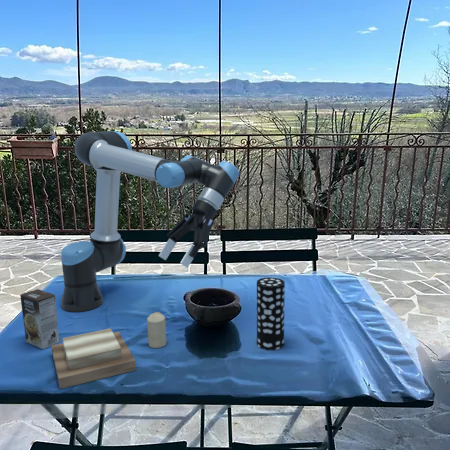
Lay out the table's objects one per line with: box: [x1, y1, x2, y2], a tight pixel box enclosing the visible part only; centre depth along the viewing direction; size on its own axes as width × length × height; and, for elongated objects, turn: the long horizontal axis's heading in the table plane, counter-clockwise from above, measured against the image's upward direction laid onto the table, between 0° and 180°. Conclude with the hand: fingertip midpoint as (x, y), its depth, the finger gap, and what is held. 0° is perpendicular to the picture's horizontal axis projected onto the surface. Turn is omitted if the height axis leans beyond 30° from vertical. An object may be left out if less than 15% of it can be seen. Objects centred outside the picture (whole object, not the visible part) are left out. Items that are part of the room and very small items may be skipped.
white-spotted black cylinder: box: [256, 276, 286, 351], centre depth 136 cm, size 8×8×20 cm
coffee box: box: [19, 288, 60, 350], centre depth 141 cm, size 9×6×16 cm
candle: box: [146, 311, 167, 349], centre depth 139 cm, size 6×6×10 cm
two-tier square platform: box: [51, 328, 137, 390], centre depth 129 cm, size 20×20×6 cm
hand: (172, 261), depth 139 cm, fingers open, 13 cm apart
